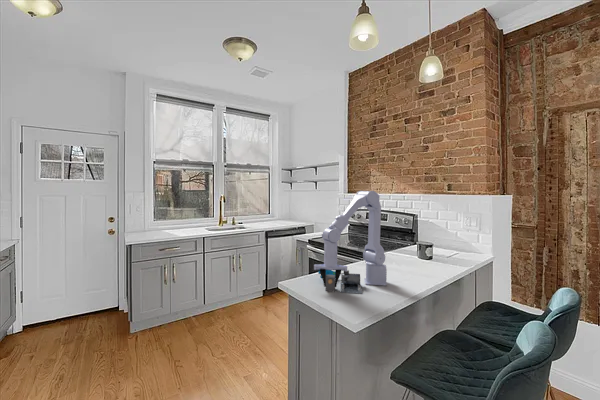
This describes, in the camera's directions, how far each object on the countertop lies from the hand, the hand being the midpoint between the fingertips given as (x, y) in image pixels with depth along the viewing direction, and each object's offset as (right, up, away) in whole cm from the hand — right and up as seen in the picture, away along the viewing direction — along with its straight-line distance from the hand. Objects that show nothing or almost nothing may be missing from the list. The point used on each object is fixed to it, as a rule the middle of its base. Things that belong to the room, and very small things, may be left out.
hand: (330, 286), depth 126 cm
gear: (0, -1, +13) cm, 13 cm away
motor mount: (+9, -1, +2) cm, 10 cm away
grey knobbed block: (0, -2, 0) cm, 2 cm away
